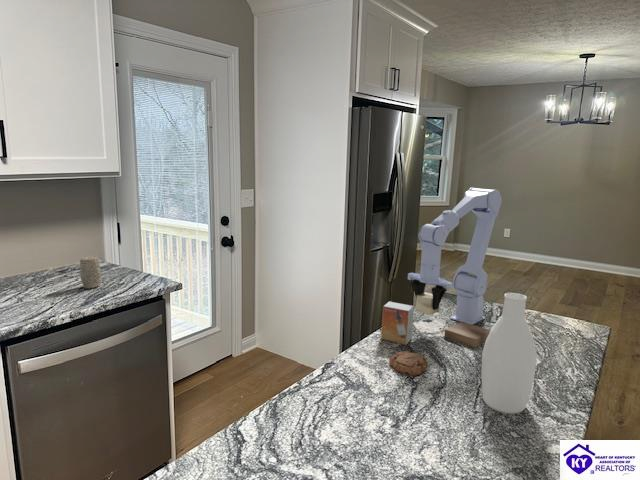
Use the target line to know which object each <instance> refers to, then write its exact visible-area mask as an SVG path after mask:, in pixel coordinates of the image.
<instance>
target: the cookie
mask: <svg viewBox="0 0 640 480" xmlns="http://www.w3.org/2000/svg"><path fill="white" fill-rule="evenodd" d="M388 360H389V364H390V366H392V369H393V370H395V372H397V373H400V374H401V375H404V376H409V377H414V376H420V375H422V374H423V373H425V372H426V368H427V366H428V361H427V359H426V357H425V356H424V355H422V354H419V353H415V352H411V351H408V350H407V351H401V352H396V353H395V354H393V355H392V356H391V357H390V359H388Z"/></svg>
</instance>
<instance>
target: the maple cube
mask: <svg viewBox="0 0 640 480" xmlns="http://www.w3.org/2000/svg"><path fill="white" fill-rule="evenodd" d="M415 301H416V302H415V311H416V312H418V313H421V314H425V315H426V316H431V315H434V314H436V313H438V312H439V311H440V306H439V307H438V309H436V310H433V294H432V292H431V293H430V292H425V291H424V293H422V294H419V295H417V299H416V298H415Z"/></svg>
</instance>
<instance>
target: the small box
mask: <svg viewBox="0 0 640 480" xmlns="http://www.w3.org/2000/svg"><path fill="white" fill-rule="evenodd" d="M414 310H415V305H412V304H406V303H405V304H404V303H399V302H393V301H388V302H387V303H386V304H384V305H383V306H382V316H381V317H382V320H381V332H380V333H381V334H380V335H381V336H380V339H381V340H385V341H389V342H393V343H398V344H401V345H405V346H406V345H407V344H408V343H409V342H410V341H411V339H412V338H413V327H414V326H413V325H414V313H415V311H414Z"/></svg>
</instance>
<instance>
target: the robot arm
mask: <svg viewBox="0 0 640 480" xmlns="http://www.w3.org/2000/svg"><path fill="white" fill-rule="evenodd" d="M502 201H503V198H502V196H501V192H500V191H499V190H498V189H488V188H479V187H469V189H467V191H464V196H463V198H462V199H461V200H460V201H459V202H458V204H457V205H455V206H454V207H453V208H452V209H451V210H450V209H447V210H443V211H442V213H441V214H440V215H439V216H438V217H436V218H435V219H434V220H432V221H431V223H425V224H424V225H422V226H421V227H420V229H419V232H418V233H417V235H418V239H419V243H420V245H419V246H420V248H421V255H420V270H419V271H420V273H415V272H409V273H407V280H409V281H411V280H412V282H411V283H410V286H411V288H412V290H413V293H414V295H415V300H416V299H417V295H419V294H422V293H425V289H426V286H427V284H428V285H431V286H434V287H431V294H433V310H436V309H438V307H439V308H440V303H441V301H442V299H443V297H444V295H445V293H446V292H447V291H449V290H452V289H453V288H454V290H455V293H456V294H457V296H456V307H455V315H451V316H450V317H449V318H450V319H451V320H453V321H456V322H461V321H462V322H465V323H468V324H472V325H475V324H477V323H479V322H481V321H483V320H485V319H486V317H485V316H483V315H484V303H485V299H484V296H483V295H484V294H486V290H487V288H488V283H487V282H488V278H489V275H488V274H487V272H486V271H485V269H483V266H484V262H485V258H486V255H487V250H488V246H489V243H490V239H491V235H492V231H493V228H494V224H495V220H496V218H497V217H498V215H499V212H500V207H501V205H502ZM470 212H471V213H473V214H475V215H476V218H477V220H476V224H475V228H474V232H473V236H472V239H471V243H470V245H469V250H468V255H467V257H466V260H465V261H466V262H465V264H463V265H461V266H459V267H458V268H457V271H456V273H455V275H453V278H452V281H448V280H446V279H444V278H441V277H440V271H441V257H442V245H443V244H445V242H446V240H447V238H448V236H449V234H450V232H452V231H453V230H454V229H455V228H457V227H458V225H459V224H460V219H461V218H463V217H464V216H465V215H467V214H468V213H470Z"/></svg>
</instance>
